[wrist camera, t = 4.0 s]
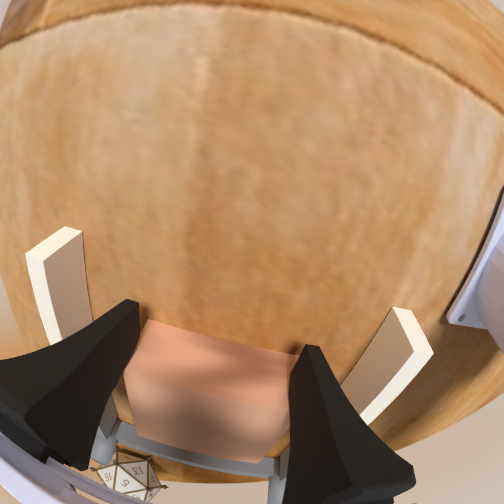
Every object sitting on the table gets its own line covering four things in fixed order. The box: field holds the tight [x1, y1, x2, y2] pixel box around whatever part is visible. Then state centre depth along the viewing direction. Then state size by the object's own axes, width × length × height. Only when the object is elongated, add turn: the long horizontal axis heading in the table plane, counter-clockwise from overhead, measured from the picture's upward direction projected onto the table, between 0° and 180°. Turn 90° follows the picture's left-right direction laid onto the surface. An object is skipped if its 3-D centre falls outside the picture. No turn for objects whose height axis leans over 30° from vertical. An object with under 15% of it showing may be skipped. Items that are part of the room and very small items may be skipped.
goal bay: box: [90, 395, 290, 504], centre depth 16 cm, size 18×11×5 cm, turn 77°
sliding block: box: [123, 319, 299, 464], centre depth 14 cm, size 8×8×4 cm
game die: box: [90, 446, 168, 502], centre depth 21 cm, size 9×8×10 cm
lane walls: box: [25, 227, 434, 425], centre depth 12 cm, size 17×10×3 cm, turn 77°
